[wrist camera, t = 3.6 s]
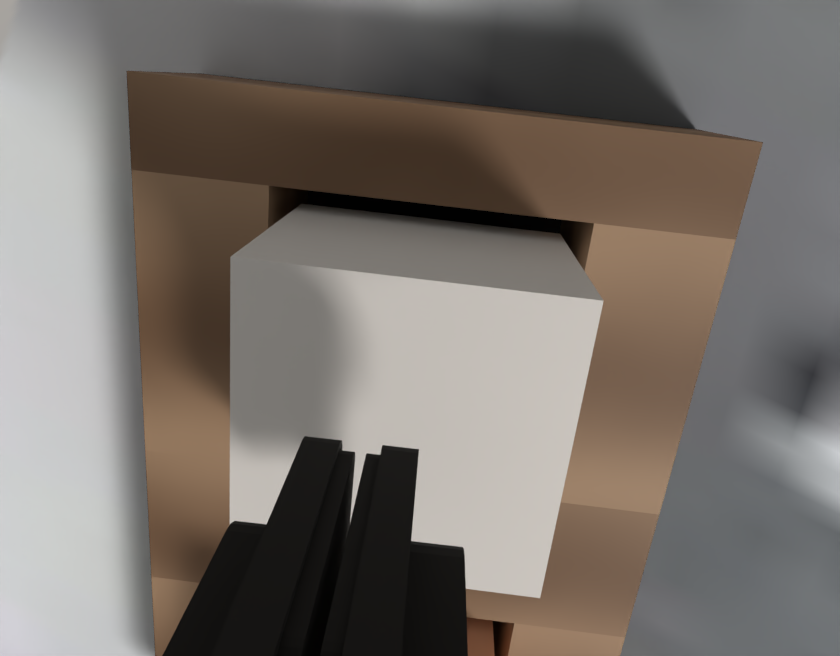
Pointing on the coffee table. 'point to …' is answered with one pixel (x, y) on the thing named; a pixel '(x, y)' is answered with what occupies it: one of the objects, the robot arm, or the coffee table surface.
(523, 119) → the brown slotted base
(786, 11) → the coffee table surface
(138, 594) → the coffee table surface
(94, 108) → the coffee table surface
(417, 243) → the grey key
